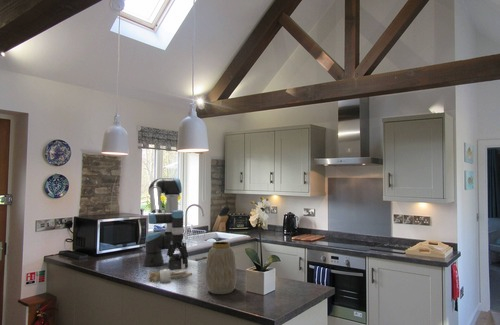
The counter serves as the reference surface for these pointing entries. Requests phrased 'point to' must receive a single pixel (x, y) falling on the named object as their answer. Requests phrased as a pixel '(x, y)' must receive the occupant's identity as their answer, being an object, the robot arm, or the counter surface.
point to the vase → (221, 269)
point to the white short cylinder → (165, 275)
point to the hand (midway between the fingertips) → (177, 267)
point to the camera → (176, 262)
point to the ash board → (179, 274)
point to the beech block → (154, 276)
